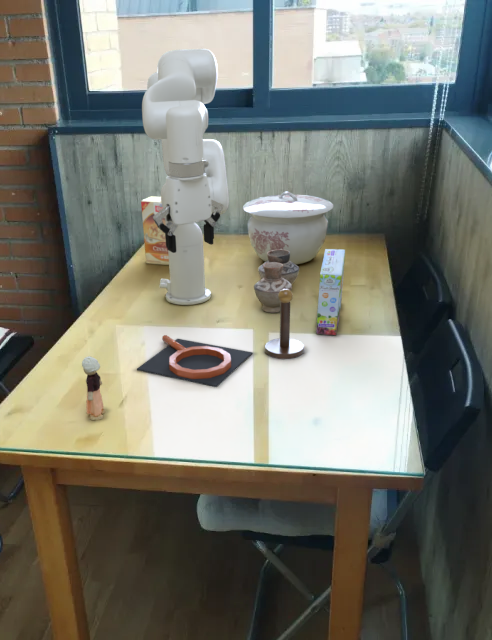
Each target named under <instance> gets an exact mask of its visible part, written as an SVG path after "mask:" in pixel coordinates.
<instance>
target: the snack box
mask: <svg viewBox="0 0 492 640" xmlns="http://www.w3.org/2000/svg"><path fill="white" fill-rule="evenodd" d="M345 260H346V249H342V248H341V249H340V248H339V249H338V248H325V249H324V253H323V259H322V263H321V267H320V274H319V285H318V296H317V297H318V298H317V299H318V300H317V314H316V326H315V327H316V329H315V334H316V335H325V336H326V335H327V336H337V333H338V328H339V321H340V314H341V309H342V299H343V289H344V288H343V287H344V277H345Z"/></svg>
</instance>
